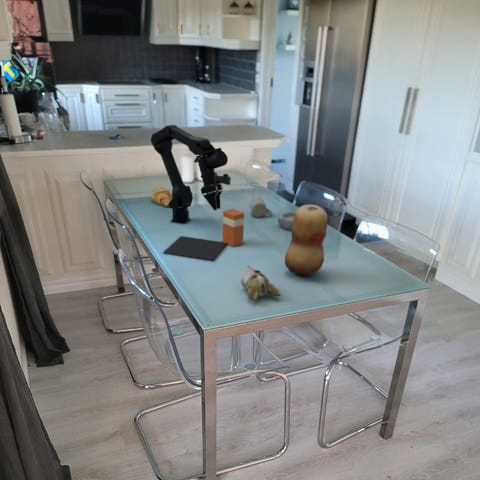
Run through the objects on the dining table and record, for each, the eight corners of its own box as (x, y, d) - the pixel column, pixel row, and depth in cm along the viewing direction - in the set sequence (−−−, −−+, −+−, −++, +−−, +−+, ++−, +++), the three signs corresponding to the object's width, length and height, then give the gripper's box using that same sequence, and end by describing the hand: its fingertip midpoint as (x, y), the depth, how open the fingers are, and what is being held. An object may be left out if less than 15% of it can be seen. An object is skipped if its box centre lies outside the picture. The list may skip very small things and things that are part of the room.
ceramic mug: (251, 218, 221) (252, 202, 217) (248, 212, 228) (249, 196, 224) (273, 218, 222) (275, 202, 218) (269, 212, 229) (271, 197, 225)
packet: (222, 241, 194) (223, 211, 187) (232, 238, 197) (233, 208, 191) (233, 246, 190) (234, 215, 183) (242, 243, 193) (244, 212, 187)
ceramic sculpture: (261, 258, 159) (284, 279, 148) (259, 281, 164) (281, 302, 153) (233, 263, 155) (254, 285, 144) (232, 286, 159) (252, 309, 149)
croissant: (174, 214, 231) (181, 199, 229) (156, 206, 225) (163, 191, 223) (160, 200, 247) (166, 186, 245) (143, 193, 241) (149, 179, 238)
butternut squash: (295, 284, 163) (303, 214, 150) (277, 269, 173) (283, 202, 160) (329, 279, 168) (339, 211, 155) (309, 264, 178) (318, 199, 166)
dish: (316, 227, 214) (317, 216, 212) (297, 234, 205) (298, 223, 203) (290, 218, 223) (291, 208, 220) (272, 225, 214) (273, 214, 211)
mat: (163, 253, 181) (163, 251, 181) (181, 237, 196) (181, 236, 196) (212, 261, 177) (212, 259, 177) (227, 244, 192) (227, 242, 192)
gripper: (223, 165, 181) (233, 206, 184) (229, 166, 198) (238, 203, 202) (195, 173, 182) (206, 213, 186) (204, 173, 200) (214, 210, 204)
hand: (217, 209), depth 195 cm, fingers open, 9 cm apart
